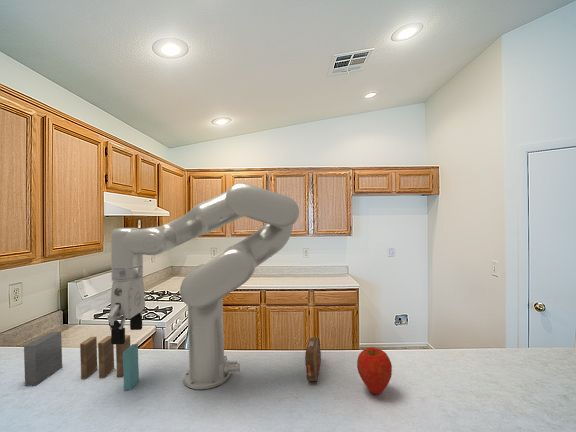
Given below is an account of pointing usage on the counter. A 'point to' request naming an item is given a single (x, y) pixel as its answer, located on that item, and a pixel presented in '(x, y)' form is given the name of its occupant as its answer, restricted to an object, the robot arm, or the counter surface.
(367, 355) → the apple
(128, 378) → the domino
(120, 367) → the domino
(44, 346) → the block
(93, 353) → the domino
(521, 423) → the counter surface
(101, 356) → the domino
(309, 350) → the tin
